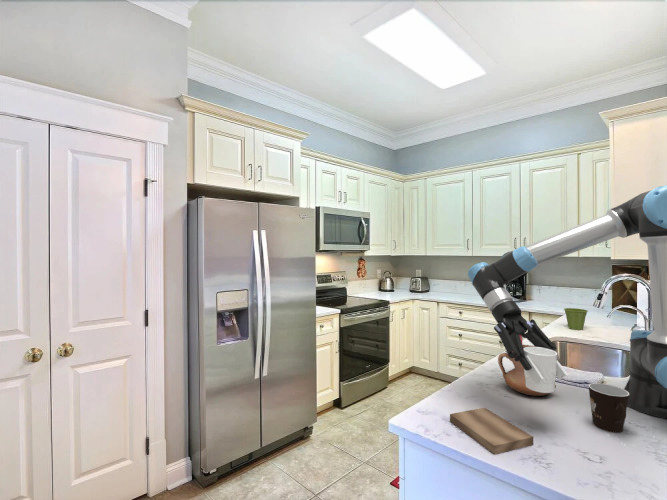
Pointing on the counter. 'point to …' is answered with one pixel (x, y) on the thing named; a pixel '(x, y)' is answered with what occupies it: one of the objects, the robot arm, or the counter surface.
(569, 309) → the plant pot
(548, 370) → the white cup
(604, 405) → the coffee mug
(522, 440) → the walnut board
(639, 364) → the robot arm
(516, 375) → the ceramic jug
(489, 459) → the counter surface
